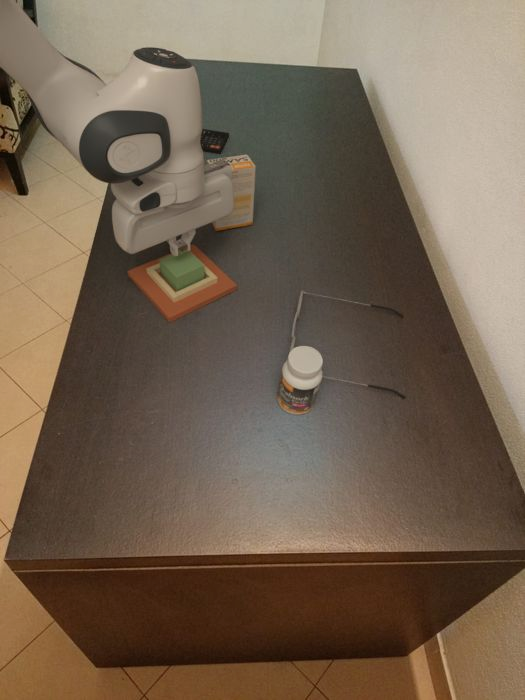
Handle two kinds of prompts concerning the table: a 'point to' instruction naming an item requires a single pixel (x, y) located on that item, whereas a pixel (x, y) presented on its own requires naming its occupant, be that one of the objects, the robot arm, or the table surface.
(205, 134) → the calculator
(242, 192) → the supplement box
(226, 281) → the base pad
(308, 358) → the pill bottle
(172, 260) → the green block
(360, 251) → the table surface
